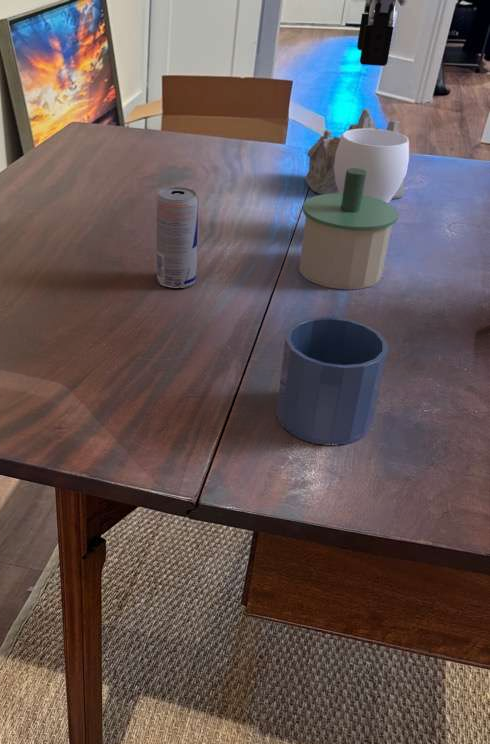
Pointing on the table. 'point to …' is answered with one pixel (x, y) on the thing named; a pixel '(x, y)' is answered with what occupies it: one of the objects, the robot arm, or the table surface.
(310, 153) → the ceramic cottage
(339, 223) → the tin lid
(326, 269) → the tin
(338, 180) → the cup
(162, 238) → the energy drink
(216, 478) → the table surface
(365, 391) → the tumbler
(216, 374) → the table surface
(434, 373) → the table surface
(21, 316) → the table surface
